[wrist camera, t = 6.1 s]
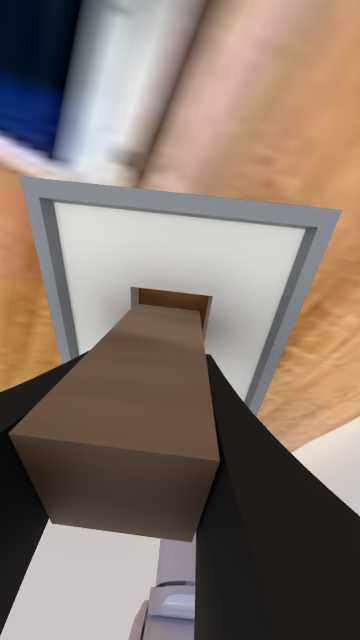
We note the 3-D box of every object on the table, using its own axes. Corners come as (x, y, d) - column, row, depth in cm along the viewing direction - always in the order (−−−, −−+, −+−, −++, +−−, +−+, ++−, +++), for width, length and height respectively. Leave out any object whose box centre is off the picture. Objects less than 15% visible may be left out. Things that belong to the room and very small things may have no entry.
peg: (191, 362, 12) (191, 542, 5) (136, 356, 12) (51, 523, 5) (199, 310, 10) (220, 461, 3) (135, 303, 10) (8, 433, 3)
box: (242, 398, 17) (251, 427, 14) (89, 378, 18) (70, 403, 15) (303, 219, 11) (341, 210, 8) (62, 194, 11) (19, 176, 8)
